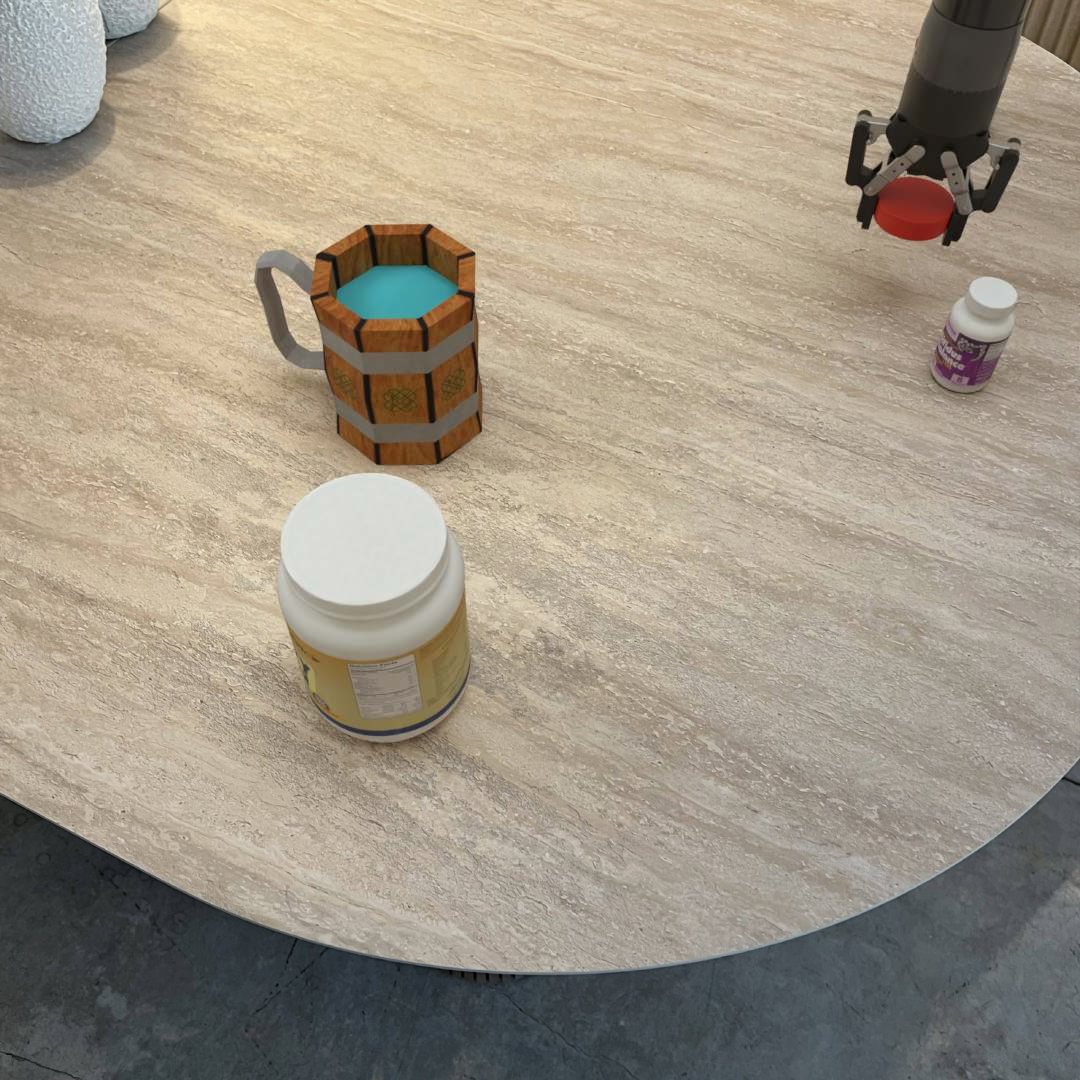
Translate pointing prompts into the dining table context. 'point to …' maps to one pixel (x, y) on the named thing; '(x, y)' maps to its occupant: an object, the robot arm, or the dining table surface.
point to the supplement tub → (375, 606)
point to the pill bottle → (975, 335)
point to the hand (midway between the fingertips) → (906, 232)
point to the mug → (389, 338)
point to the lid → (913, 209)
